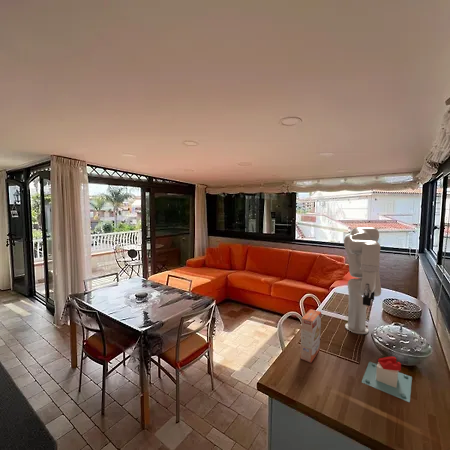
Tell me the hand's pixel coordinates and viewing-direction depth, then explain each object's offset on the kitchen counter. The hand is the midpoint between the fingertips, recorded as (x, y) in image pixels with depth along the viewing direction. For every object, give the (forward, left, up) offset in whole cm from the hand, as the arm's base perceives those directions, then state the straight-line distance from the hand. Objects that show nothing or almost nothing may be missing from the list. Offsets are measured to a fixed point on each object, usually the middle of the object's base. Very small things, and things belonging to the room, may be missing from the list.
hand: (368, 302), depth 115 cm
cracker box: (+16, -22, -28) cm, 39 cm away
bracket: (+14, +10, -21) cm, 27 cm away
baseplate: (+14, +10, -28) cm, 33 cm away
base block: (+14, +10, -27) cm, 32 cm away
